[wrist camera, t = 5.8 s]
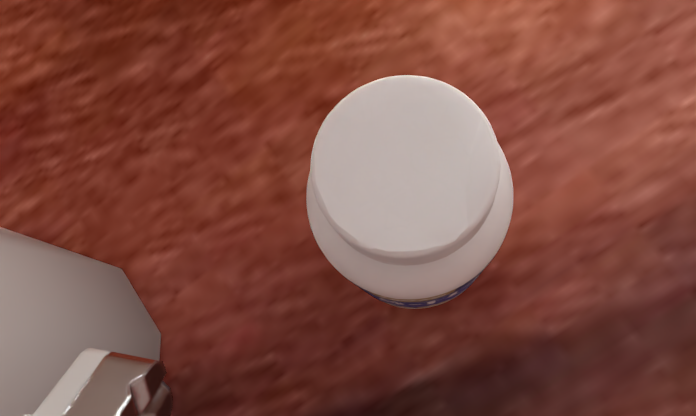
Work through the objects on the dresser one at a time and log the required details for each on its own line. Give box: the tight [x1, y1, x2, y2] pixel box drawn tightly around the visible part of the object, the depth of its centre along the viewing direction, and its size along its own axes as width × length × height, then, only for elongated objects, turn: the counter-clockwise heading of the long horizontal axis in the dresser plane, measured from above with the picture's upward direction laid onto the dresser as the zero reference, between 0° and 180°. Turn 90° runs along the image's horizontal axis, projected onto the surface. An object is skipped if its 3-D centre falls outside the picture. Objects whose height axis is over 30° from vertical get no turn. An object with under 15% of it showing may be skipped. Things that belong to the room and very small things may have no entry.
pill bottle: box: [306, 75, 513, 309], centre depth 17 cm, size 5×5×9 cm
